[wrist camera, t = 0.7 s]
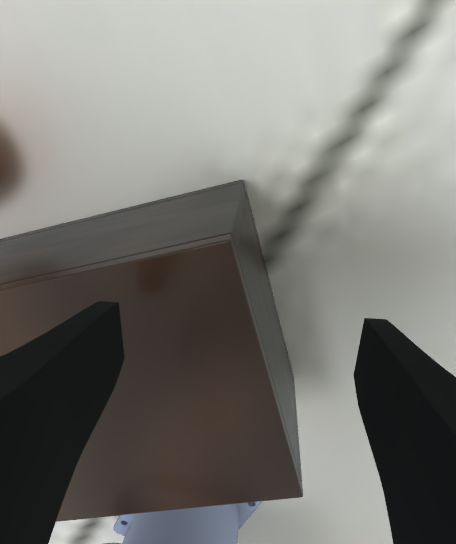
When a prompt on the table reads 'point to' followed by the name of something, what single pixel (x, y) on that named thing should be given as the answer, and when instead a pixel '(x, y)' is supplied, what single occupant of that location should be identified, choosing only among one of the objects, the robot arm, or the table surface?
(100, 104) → the table surface
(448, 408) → the robot arm
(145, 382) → the cabinet
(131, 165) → the table surface
